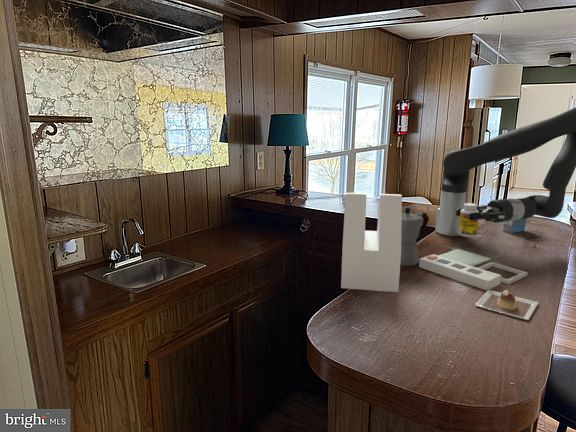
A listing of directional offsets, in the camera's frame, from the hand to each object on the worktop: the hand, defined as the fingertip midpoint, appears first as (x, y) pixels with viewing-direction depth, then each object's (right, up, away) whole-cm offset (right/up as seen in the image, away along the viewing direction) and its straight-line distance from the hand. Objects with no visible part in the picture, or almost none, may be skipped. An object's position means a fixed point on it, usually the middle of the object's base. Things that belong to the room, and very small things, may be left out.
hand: (463, 214), depth 133 cm
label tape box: (+36, -7, +36) cm, 52 cm away
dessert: (-1, -24, -29) cm, 37 cm away
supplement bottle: (+3, -7, +2) cm, 8 cm away
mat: (+2, -15, +4) cm, 15 cm away
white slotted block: (-32, -19, -11) cm, 39 cm away
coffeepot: (-17, -15, +2) cm, 23 cm away
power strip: (-5, -18, -9) cm, 21 cm away
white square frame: (+7, -18, -9) cm, 21 cm away
